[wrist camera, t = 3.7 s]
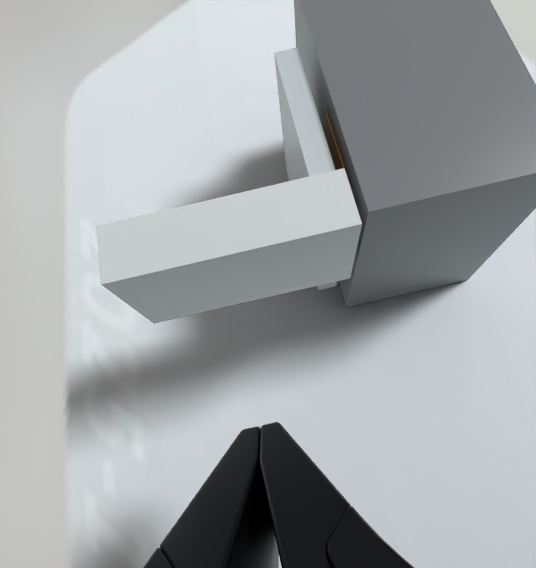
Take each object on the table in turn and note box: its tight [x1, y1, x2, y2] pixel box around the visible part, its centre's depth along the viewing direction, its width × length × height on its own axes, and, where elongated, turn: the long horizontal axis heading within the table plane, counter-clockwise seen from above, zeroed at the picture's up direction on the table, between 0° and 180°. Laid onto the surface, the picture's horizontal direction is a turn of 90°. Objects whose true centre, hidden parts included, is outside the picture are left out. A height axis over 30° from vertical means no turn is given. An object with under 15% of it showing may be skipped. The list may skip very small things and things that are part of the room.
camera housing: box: [294, 0, 536, 308], centre depth 16 cm, size 9×5×8 cm, turn 12°
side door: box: [96, 47, 362, 323], centre depth 14 cm, size 6×6×7 cm
